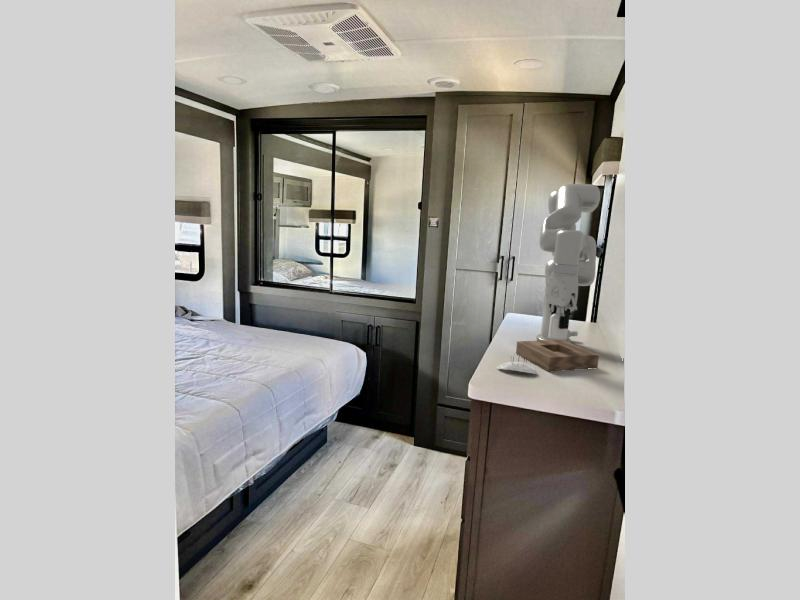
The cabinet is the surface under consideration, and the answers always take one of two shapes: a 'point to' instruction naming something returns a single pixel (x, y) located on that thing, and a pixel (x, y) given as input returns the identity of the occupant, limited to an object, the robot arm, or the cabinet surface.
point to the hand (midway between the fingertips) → (558, 326)
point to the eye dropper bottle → (557, 327)
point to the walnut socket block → (557, 355)
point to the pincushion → (518, 366)
